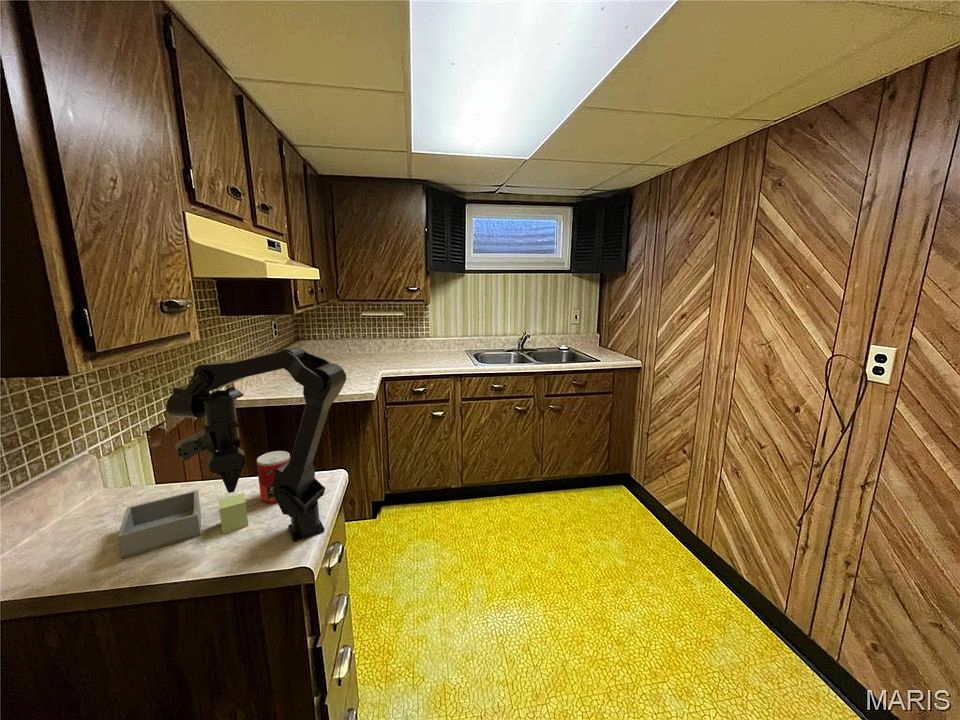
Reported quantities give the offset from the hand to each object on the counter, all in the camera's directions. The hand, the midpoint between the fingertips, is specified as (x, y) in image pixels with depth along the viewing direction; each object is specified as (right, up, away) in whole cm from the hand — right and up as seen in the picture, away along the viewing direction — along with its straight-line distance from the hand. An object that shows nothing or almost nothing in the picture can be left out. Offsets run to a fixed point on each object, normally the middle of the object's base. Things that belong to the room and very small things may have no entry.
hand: (230, 483), depth 87 cm
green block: (0, -10, +2) cm, 10 cm away
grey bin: (-14, -10, -1) cm, 18 cm away
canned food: (+3, -8, +14) cm, 16 cm away
